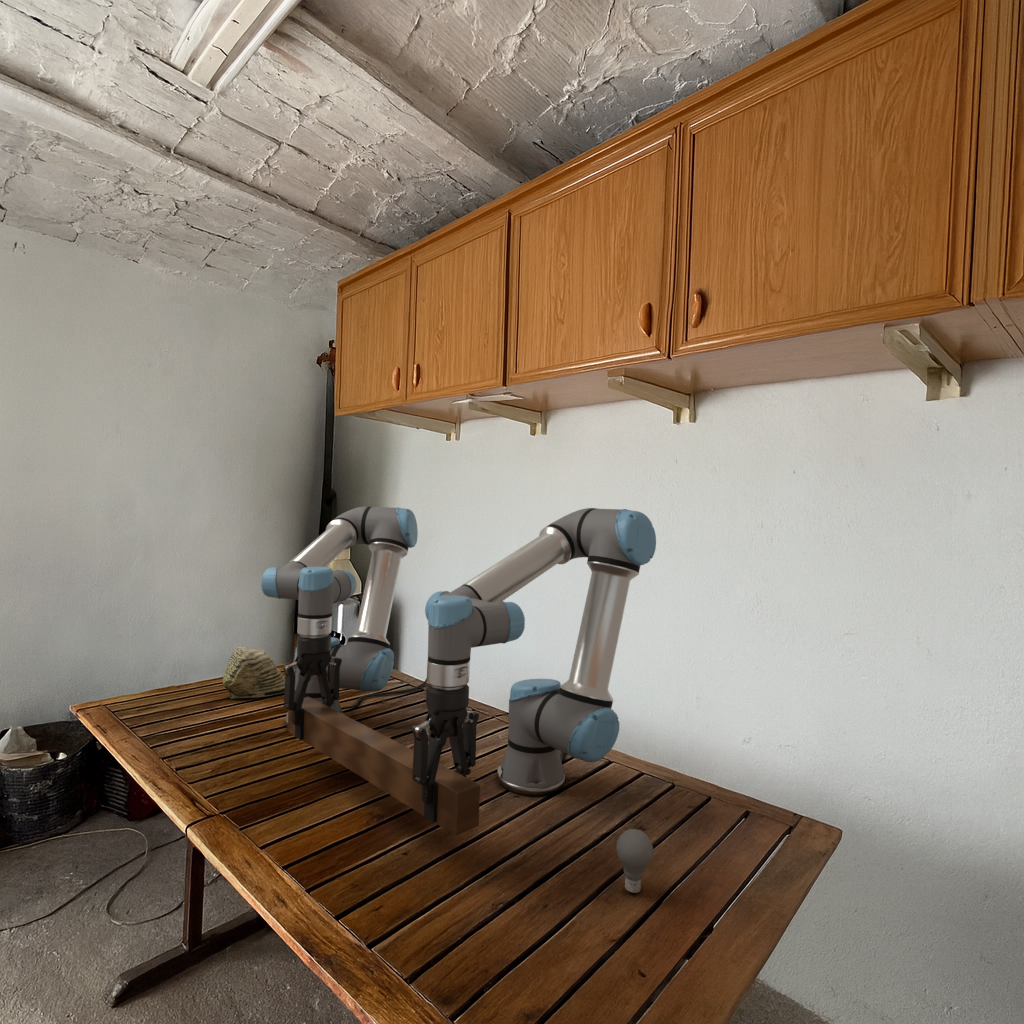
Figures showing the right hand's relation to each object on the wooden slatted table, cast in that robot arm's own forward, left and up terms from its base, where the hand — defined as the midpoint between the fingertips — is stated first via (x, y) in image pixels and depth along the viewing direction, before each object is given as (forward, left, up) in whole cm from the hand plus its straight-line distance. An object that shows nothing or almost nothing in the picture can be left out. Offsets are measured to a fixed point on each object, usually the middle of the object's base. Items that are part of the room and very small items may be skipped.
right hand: (443, 813), depth 113 cm
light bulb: (-15, +30, -8) cm, 34 cm away
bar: (-2, -24, 0) cm, 24 cm away
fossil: (-24, -107, -8) cm, 110 cm away
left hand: (-5, -48, 0) cm, 48 cm away
